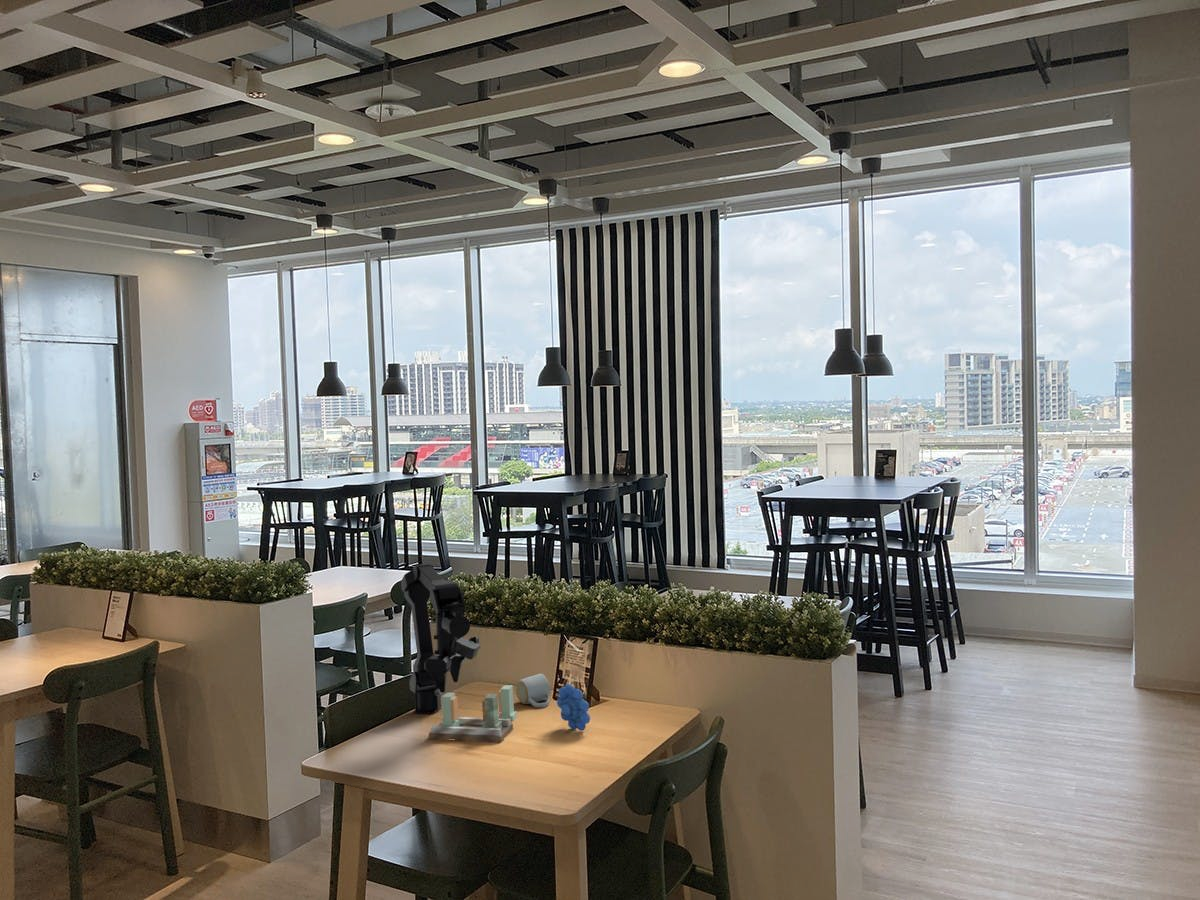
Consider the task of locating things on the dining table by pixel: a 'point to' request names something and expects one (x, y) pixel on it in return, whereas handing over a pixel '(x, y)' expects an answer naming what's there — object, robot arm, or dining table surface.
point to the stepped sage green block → (450, 710)
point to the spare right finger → (506, 703)
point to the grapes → (573, 707)
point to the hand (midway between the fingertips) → (449, 687)
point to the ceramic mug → (533, 690)
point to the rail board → (477, 725)
